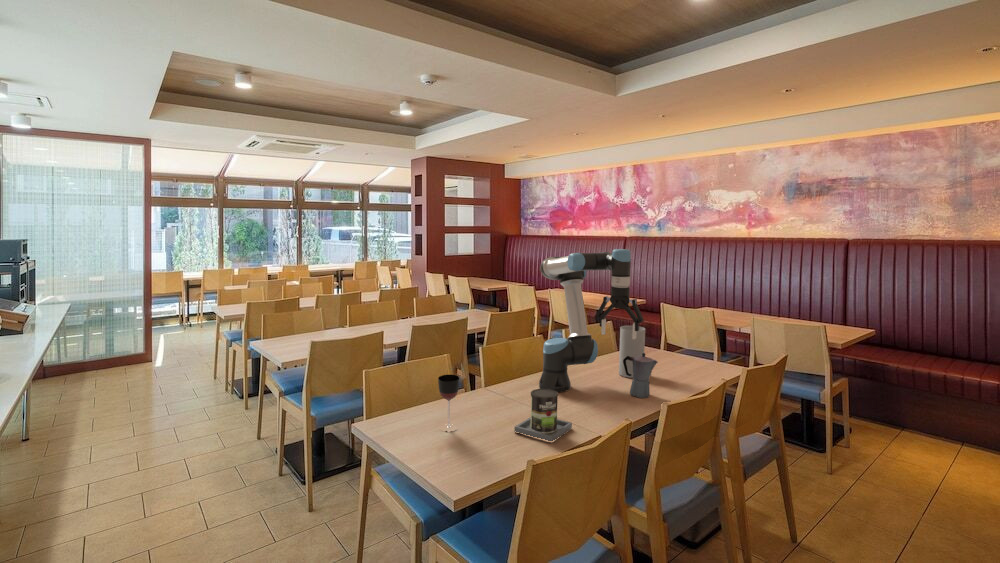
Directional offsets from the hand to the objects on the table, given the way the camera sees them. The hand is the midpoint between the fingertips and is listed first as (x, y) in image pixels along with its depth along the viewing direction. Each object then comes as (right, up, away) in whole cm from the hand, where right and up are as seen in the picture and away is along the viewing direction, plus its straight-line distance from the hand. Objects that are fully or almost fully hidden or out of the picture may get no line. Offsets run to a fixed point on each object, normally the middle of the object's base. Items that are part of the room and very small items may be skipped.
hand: (618, 336), depth 213 cm
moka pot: (+14, -30, +22) cm, 39 cm away
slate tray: (-33, -34, -19) cm, 51 cm away
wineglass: (-70, -34, -18) cm, 79 cm away
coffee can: (-33, -33, -20) cm, 51 cm away
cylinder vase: (+19, -26, +52) cm, 61 cm away
